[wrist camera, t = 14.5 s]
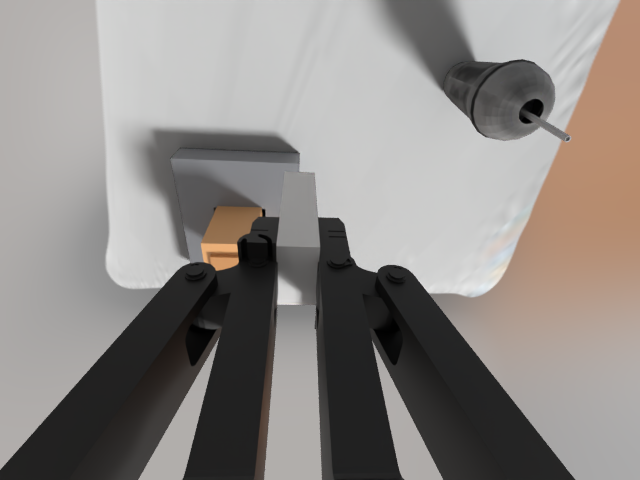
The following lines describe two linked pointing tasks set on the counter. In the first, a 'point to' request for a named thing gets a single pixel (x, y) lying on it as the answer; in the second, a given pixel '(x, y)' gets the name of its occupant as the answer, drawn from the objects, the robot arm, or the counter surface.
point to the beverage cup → (503, 97)
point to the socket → (226, 185)
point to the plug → (227, 234)
